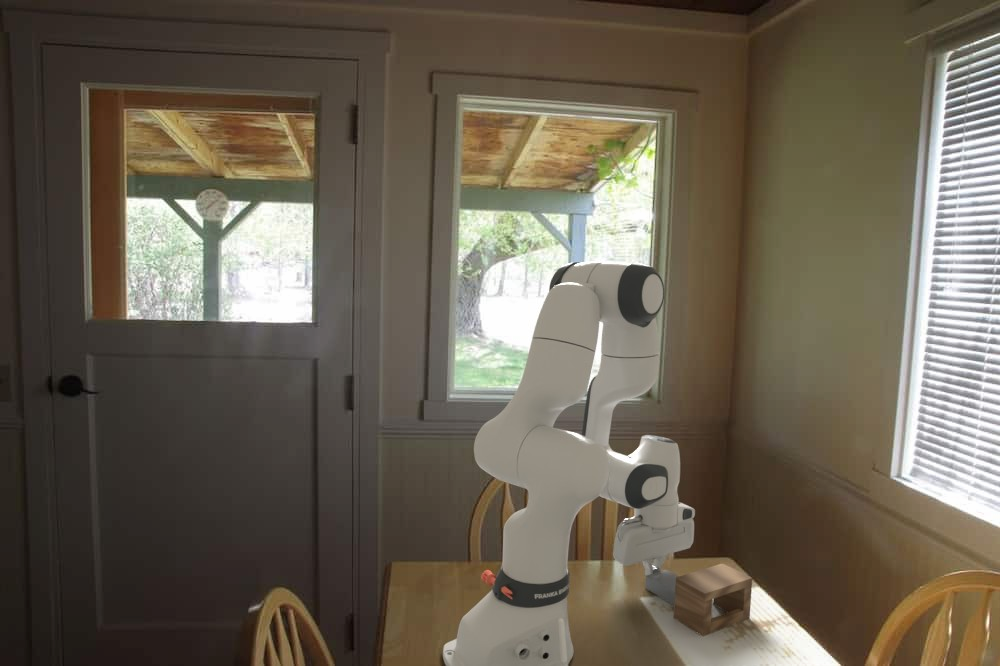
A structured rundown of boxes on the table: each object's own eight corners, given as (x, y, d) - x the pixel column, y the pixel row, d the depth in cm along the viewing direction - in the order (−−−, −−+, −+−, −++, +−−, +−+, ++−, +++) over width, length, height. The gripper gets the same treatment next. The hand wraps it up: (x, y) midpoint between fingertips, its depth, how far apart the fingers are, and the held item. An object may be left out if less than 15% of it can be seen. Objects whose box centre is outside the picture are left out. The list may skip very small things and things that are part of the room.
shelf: (702, 636, 116) (705, 593, 115) (673, 618, 122) (675, 577, 121) (749, 618, 123) (752, 577, 122) (720, 601, 129) (722, 563, 128)
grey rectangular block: (678, 609, 126) (679, 594, 126) (645, 589, 133) (645, 575, 133) (699, 601, 129) (699, 587, 129) (665, 583, 137) (666, 569, 136)
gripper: (629, 525, 126) (626, 593, 127) (700, 508, 137) (696, 571, 138) (608, 515, 132) (605, 580, 133) (678, 499, 142) (674, 559, 144)
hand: (652, 575), depth 136 cm, fingers closed, pressing on grey rectangular block
